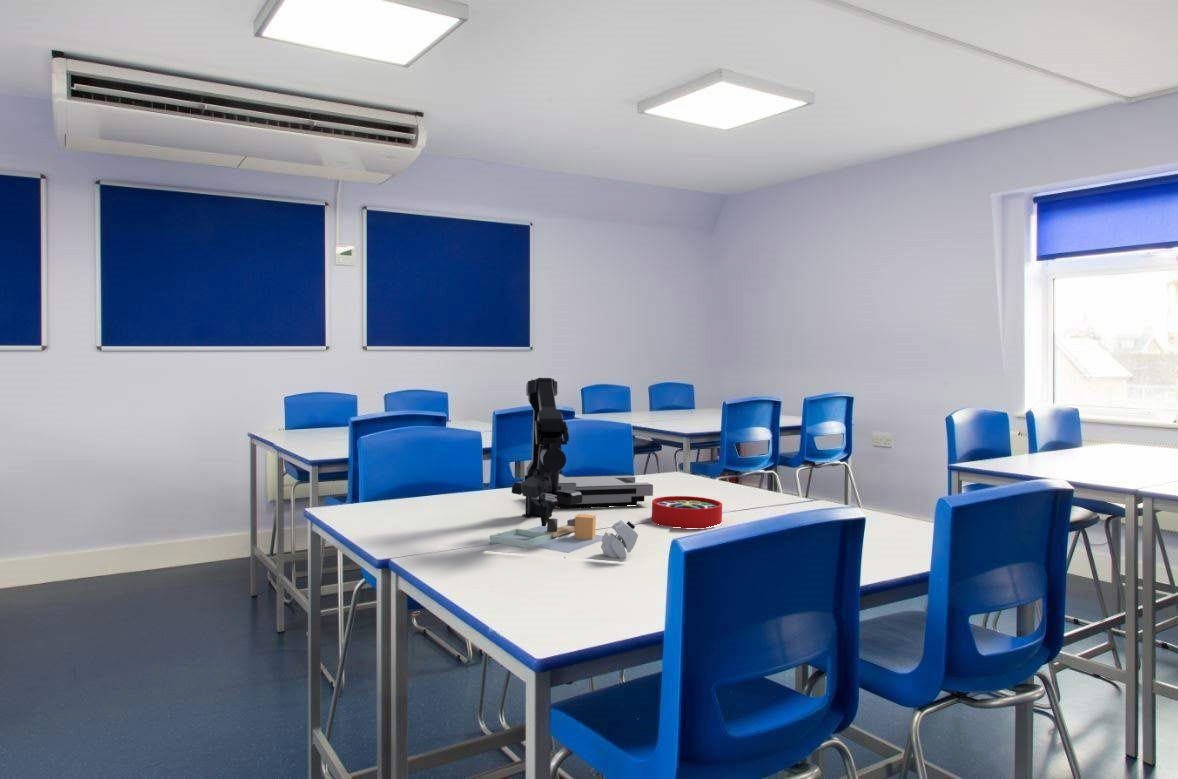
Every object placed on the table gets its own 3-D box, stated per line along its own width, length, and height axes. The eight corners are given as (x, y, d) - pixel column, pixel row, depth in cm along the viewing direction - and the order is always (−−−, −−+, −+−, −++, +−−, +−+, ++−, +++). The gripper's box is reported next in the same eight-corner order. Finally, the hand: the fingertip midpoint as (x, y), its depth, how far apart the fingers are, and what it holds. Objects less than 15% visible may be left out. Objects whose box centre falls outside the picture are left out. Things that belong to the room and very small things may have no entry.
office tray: (652, 507, 252) (653, 481, 252) (554, 511, 243) (554, 484, 242) (629, 495, 272) (630, 471, 272) (537, 498, 262) (538, 473, 262)
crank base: (494, 541, 201) (494, 539, 201) (541, 527, 218) (541, 525, 218) (568, 555, 189) (568, 552, 189) (611, 539, 206) (611, 536, 206)
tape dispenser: (618, 568, 185) (646, 535, 186) (597, 550, 184) (625, 517, 185) (613, 562, 191) (640, 529, 192) (592, 544, 190) (620, 512, 191)
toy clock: (690, 493, 244) (737, 505, 227) (690, 513, 244) (736, 525, 228) (638, 499, 233) (682, 511, 216) (637, 519, 233) (682, 533, 217)
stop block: (577, 535, 208) (578, 514, 207) (595, 536, 207) (595, 515, 206) (574, 538, 204) (575, 516, 204) (592, 539, 203) (592, 517, 203)
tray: (489, 543, 199) (489, 535, 199) (516, 535, 208) (516, 527, 208) (525, 549, 193) (525, 542, 193) (551, 541, 203) (551, 533, 203)
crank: (574, 525, 217) (574, 510, 217) (589, 528, 214) (590, 512, 214) (541, 535, 205) (541, 518, 204) (556, 538, 202) (557, 521, 202)
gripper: (500, 462, 203) (495, 523, 204) (560, 473, 193) (555, 537, 193) (527, 459, 212) (522, 518, 213) (585, 470, 202) (580, 531, 203)
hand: (543, 526), depth 205 cm, fingers closed
